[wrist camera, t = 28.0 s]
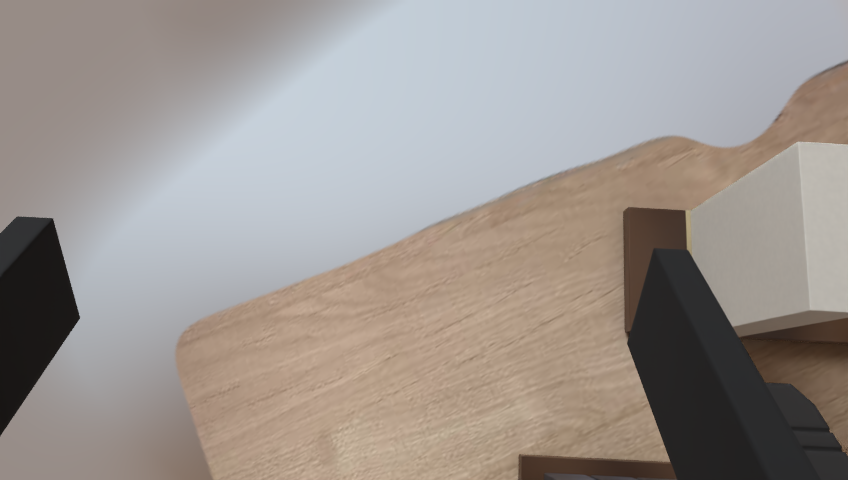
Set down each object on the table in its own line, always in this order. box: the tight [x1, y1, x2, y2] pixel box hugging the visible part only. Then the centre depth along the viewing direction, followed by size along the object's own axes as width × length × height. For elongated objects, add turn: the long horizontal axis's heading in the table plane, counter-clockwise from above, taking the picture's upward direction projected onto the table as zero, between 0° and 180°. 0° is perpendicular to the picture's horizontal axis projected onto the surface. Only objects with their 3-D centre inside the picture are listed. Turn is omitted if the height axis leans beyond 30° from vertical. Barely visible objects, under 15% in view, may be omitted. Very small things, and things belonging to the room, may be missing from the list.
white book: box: [690, 142, 848, 337], centre depth 42 cm, size 3×9×14 cm, turn 177°
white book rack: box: [623, 207, 848, 345], centre depth 43 cm, size 22×9×15 cm, turn 87°
